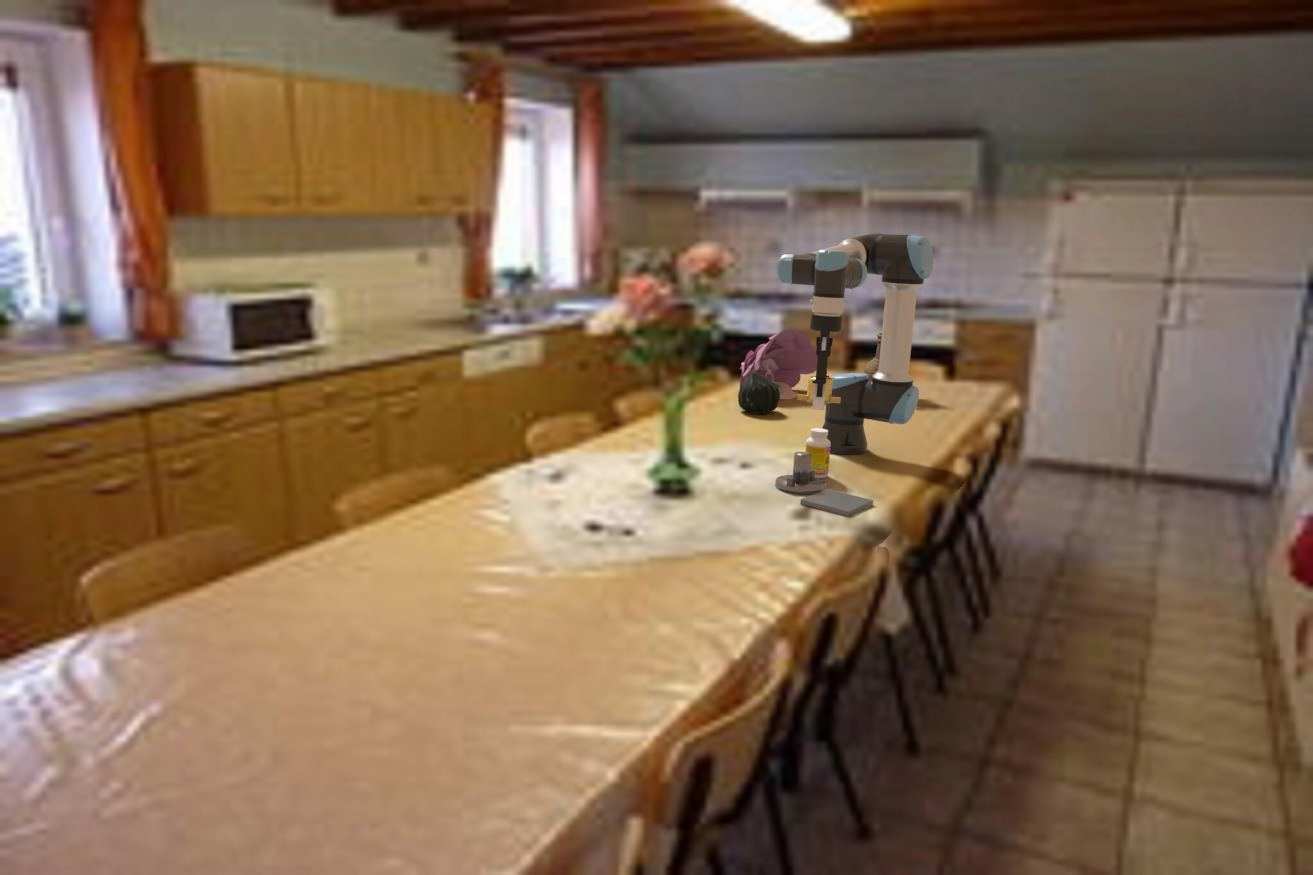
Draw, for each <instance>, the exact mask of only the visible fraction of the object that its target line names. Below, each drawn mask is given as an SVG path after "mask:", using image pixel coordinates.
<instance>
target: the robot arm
mask: <svg viewBox="0 0 1313 875" xmlns="http://www.w3.org/2000/svg"><path fill="white" fill-rule="evenodd" d="M933 268H934V252H933V248H932V244H931V242H930V241H929V239H928V238H927V237H925V236H921V235H915V234H893V233H879V232H878V233H869V234H863V235H858V236H854V237H850V238H847V239H844V240H842V241H841V242H840V243H839V244H838V245H834V246H830V247H826V248H823V249H819V250H816V251H815V250H814V251H811V252H807V253H802V254H795V253H790V254H789V253H785V254H783V255H782V256H781V257H780V258H779V259H778V262H777V268H776V270H777V272H776V273H777V278H778V280H779V281H780V282H781V283H784V284H789V285H803V286H804V285H805V286H813V292H812V295H813V296H812V299H810V300H809V303H810V304H812V306H811V312H813V314H811V315H810V324H809V325H810V329H811V330H812V331H816V332H818V331H819V332H820V333H819V334H820V335H819V336H816V339H815V340H816V341H815V345H816V349H815V350H816V355H817V356H818V360H817V370H816V371H815V376H816V379H815V381H812V383H815V387H814V398H813V403H812V410H815V411H824V409H825V412H824V413H825V416H824V423H823V425H822V427H821V429H826V430H828V435H827V439H828V440H829V441H830V443H831V446H830V454H838V455H861V454H865V453H867V451H868V441H867V436H866V432H865V428H864V425H865V424H864V422H865V420H869V421H870V420H871V421H877V422H883V423H888V424H889V425H893V424H895V425H906V424H907V423H908V422H909V421H910V420H911V419H912V417H913V415H914V414H915V411H916V409H917V406H918V401H919V397H920V393H919V390H920V389H919V388H918V387H917V386H915V385H914V377H912V375H910V374H911V373H910V363H911V351H912V342H913V334H914V322H915V315H916V314H915V313H916V303H917V296H918V295H917V294H918V290H919V289H920V288H921V287H923V285H924V281H925V280H926V279H929V277H931V275H932V271H933ZM868 274H870V275H876V276H881V284H882V285H883V286H884V287H885V288H886V290H885V298H884V311H883V319H882V328H881V329H882V330H881V333H882V339H881V349H880V359H879V370H878V372H876V373H875V374H874V375H873V377H872V380H868V379H869V377H868V375H867V374H864V372H863V373H862V372H850V373H849V372H848V373H846V372H845V373H837V374H834V375H832V376H830V375H827V374H828V361H829V360H828V359H829V357H831V349H832V347H833V343H834V342H833V340H834V339H833V337H831V336H830V335H831V333H836V332H837V333H838V332H841V330H842V327H843V326H842V324H843V323H842V322H843V317H842V314H843V313H844V307H845V306H844V305H845V291H846V290H847V289H848V290H849V289H850V290H853V289H856V288H859V287H861V286H862V285H863V284H864V283H865V282H866V280H867V277H868ZM909 373H910V374H909ZM821 377H823V378H821ZM826 377H830V378H833V385H832V396H831V397H841V401H840V403H830V404H824V400H825V389H826V384H825V383H826ZM824 407H825V408H824Z"/></svg>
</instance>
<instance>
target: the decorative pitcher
mask: <svg viewBox="0 0 1313 875" xmlns="http://www.w3.org/2000/svg"><path fill="white" fill-rule="evenodd" d="M876 336H877V338H876V341H877V345H876V346H877V347H876V353H875V356H874V357H873V358H872V359H871V360H870V361H869V362H868V363H867V365H866V367H865V368H864V371H863V374H867V375H868V377H869V379H868V380H872V377H873V375H874V374H875V373H876V372H878V370H879V359H880V349H881V339H882V332H878V333H876ZM909 374H911V373H910V372H909Z"/></svg>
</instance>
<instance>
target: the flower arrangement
mask: <svg viewBox="0 0 1313 875" xmlns="http://www.w3.org/2000/svg"><path fill="white" fill-rule="evenodd" d="M768 339H769V340H768V342H767V343H762V344H760V345H758V346H757V347H756V348H755V350H754V351H753V350H749V351H748V352H747V353H746V356H745V359H744V361H743V362H741V364H740V365H741V366H740V367H739V370H741V374H740V381H739V389H740V388H741V386H742V384H743V383H744V382H745V381H746V380H747V379H748V377H749V376H750V375H751V374H752V373H753V372H754V373H758V374H761V375H763V376H764V377H766V378H768V379H770V380H771V381H772V382H774V383H775V384H776V385H777V387H778V389H779V392H780V400H790V399H795V398H797V396H798V394H799V393H798V391H794V390H793V389H792V388H795V387H796V386H797V385H798V384H799V383H800V381H801V377H802V376H801V375H804V376H805V375H812V374H814V373H816V371H817V360H818V356H817V355H816V350H817V349H815V348H814V347H813V346H812V342H811V338H810V337H809V335H808V334H806V333H805V332H802V331H795V330H794V329H793V328H787V329H784V330H782V331H780V332H778V333H776V334H774V335H772V336H770V337H768Z"/></svg>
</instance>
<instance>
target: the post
mask: <svg viewBox="0 0 1313 875" xmlns="http://www.w3.org/2000/svg"><path fill="white" fill-rule="evenodd" d="M811 457H812V454H810V453H807V452H805V451H796V452H794V456H793V468H792V474H786V475H780V476H778V477H776V478H775V484H774V486H775V489H778V490H780V491H782V492H784V493H789V494H794V495H799V496H800V495H801V496H810V495H813V494H815V493H818V492H820V491H823V490H825V489H827V483H826V482H825V480H822V478H815V471H813V470H810V469H811Z"/></svg>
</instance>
